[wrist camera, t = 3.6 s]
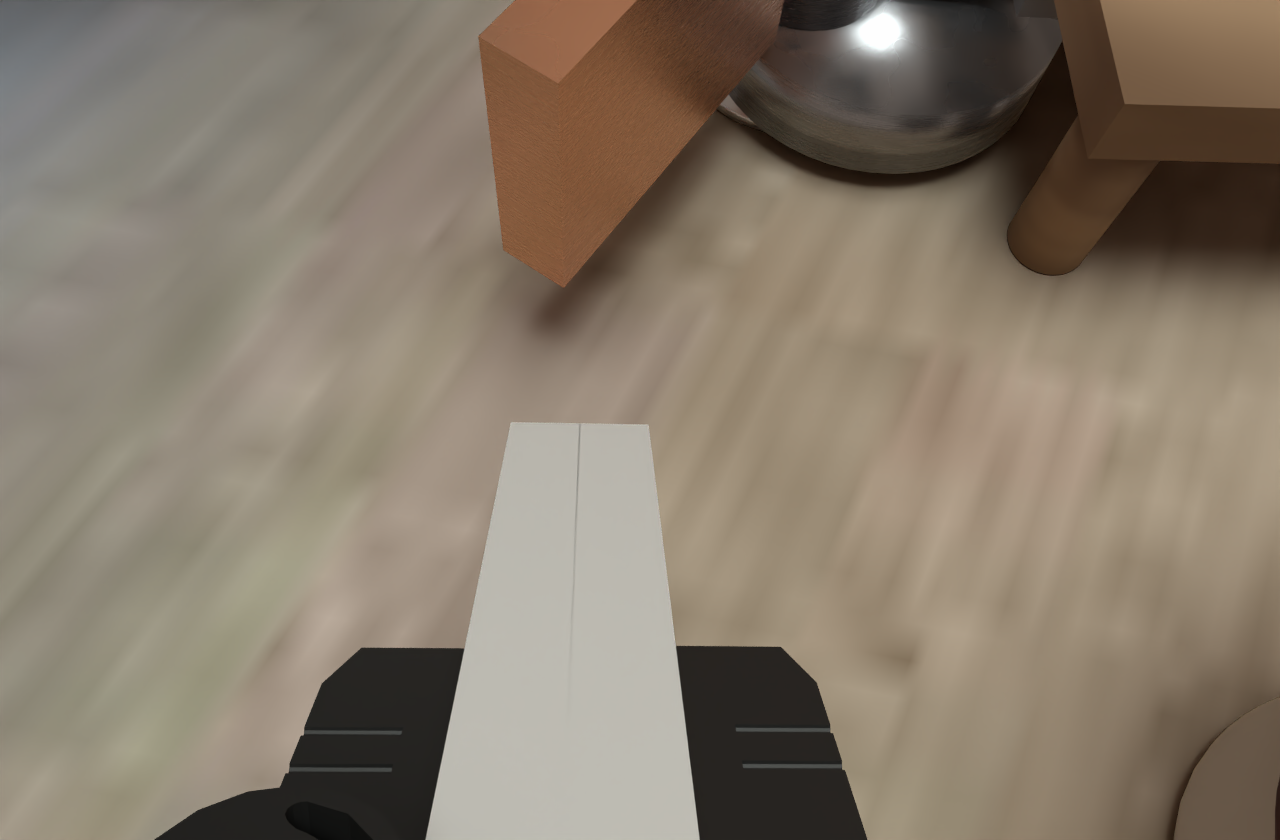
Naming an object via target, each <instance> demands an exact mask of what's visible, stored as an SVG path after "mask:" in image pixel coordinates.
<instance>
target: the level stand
mask: <svg viewBox="0 0 1280 840" xmlns="http://www.w3.org/2000/svg"><path fill="white" fill-rule="evenodd" d="M1013 2H1014V7H1015V12H1016V17H1032V18H1058V21H1059V26H1060V31H1061V35H1062V40H1063V45H1064V49H1065V54H1066V59H1067V63H1068V68H1069V73H1070V78H1071V82H1072V87H1073V92H1074V96H1075V101H1076V106H1077V110H1078V116H1077V117H1076V119H1075V121H1074V122H1073V124H1072V125H1071V127H1070V129H1069V130H1068V132H1067V133H1066V135H1065V137H1064V138H1063V140H1062V141H1061V143H1060V145H1059V146H1058V148H1057V149H1056V151H1055V153H1054V154H1053V156H1052V157H1051V159H1050V160H1049V162H1048V164H1047V165H1046V167H1045V168H1044V170H1043V172H1042V173H1041V175H1040V176H1039V178H1038V180H1037V181H1036V183H1035V184H1034V186H1033V188H1032V189H1031V191H1030V192H1029V194H1028V196H1027V197H1026V199H1025V200H1024V202H1023V204H1022V205H1021V207H1020V208H1019V210H1018V212H1017V213H1016V215H1015V216H1014V218H1013V220H1012V221H1011V223H1010V225H1009V227H1008V232H1007V238H1008V244H1009V246H1010V249H1011V251H1012V253H1013V254H1014V255H1015V257H1016V258H1017V259H1018V260H1019V261H1020V262H1021V263H1022V264H1023V265H1025V266H1026V267H1028V268H1030V269H1031V270H1034V271H1036V272H1039V273H1042V274H1047V275H1060V274H1065V273H1068V272H1070V271H1072V270H1074V269H1075V268H1077V267H1078V266H1079V265H1080V263H1081V262H1082V261H1083V260H1084V258H1085V257H1086V256H1087V254H1088V253H1089V252H1090V251H1091V249H1092V248H1093V247H1094V245H1095V244H1096V243H1097V242H1098V240H1099V239H1100V238H1101V236H1102V235H1103V234H1104V233H1105V231H1106V230H1107V229H1108V227H1109V226H1110V225H1111V223H1112V222H1113V221H1114V220H1115V218H1116V217H1117V216H1118V214H1119V213H1120V212H1121V211H1122V209H1123V208H1124V207H1125V205H1126V204H1127V203H1128V201H1129V200H1130V199H1131V198H1132V196H1133V195H1134V194H1135V192H1136V191H1137V190H1138V189H1139V187H1140V186H1141V185H1142V183H1143V182H1144V181H1145V179H1146V178H1147V177H1148V176H1149V174H1150V173H1151V172H1152V170H1153V169H1154V168H1155V167H1156V165H1157V164H1158V163H1159V161H1197V162H1235V163H1273V164H1280V0H1013Z"/></svg>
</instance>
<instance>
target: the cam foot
mask: <svg viewBox="0 0 1280 840" xmlns="http://www.w3.org/2000/svg"><path fill="white" fill-rule="evenodd" d="M478 37H479V45H480V54H481V62H482V71H483V79H484V88H485V96H486V105H487V114H488V122H489V131H490V139H491V148H492V156H493V165H494V173H495V182H496V190H497V199H498V208H499V216H500V225H501V233H502V242H503V250H504V251H506V252H508V253H509V254H511V255H512V256H514V257H515V258H517V259H519V260H520V261H522V262H523V263H525V264H527V265H528V266H530V267H531V268H533V269H534V270H536V271H538V272H539V273H541V274H542V275H544V276H545V277H547V278H549V279H550V280H552V281H553V282H555V283H557V284H558V285H560V286H561V287H563V288H564V287H565V286H566V285H567V284H568V282H569V281H570V280H571V279H572V278H573V277H574V275H575V274H576V273H577V272H578V271H579V270H580V268H581V267H582V266H583V265H584V264H585V262H586V261H587V260H588V259H589V258H590V257H591V255H592V254H593V253H594V252H595V251H596V250H597V248H598V247H599V246H600V245H601V244H602V243H603V241H604V240H605V239H606V238H607V237H608V236H609V234H610V233H611V232H612V231H613V230H614V228H615V227H616V226H617V225H618V224H619V223H620V221H621V220H622V219H623V218H624V217H625V216H626V214H627V213H628V212H629V211H630V210H631V209H632V207H633V206H634V205H635V204H636V203H637V201H638V200H639V199H640V198H641V197H642V196H643V194H644V193H645V192H646V191H647V190H648V189H649V187H650V186H651V185H652V184H653V183H654V182H655V180H656V179H657V178H658V177H659V176H660V175H661V173H662V172H663V171H664V170H665V169H666V167H667V166H668V165H669V164H670V163H671V162H672V160H673V159H674V158H675V157H676V156H677V155H678V153H679V152H680V151H681V150H682V149H683V148H684V146H685V145H686V144H687V143H688V142H689V140H690V139H691V138H692V137H693V136H694V135H695V133H696V132H697V131H698V130H699V129H700V128H701V126H702V125H703V124H704V123H705V122H706V121H707V119H708V118H709V117H710V116H711V115H712V114H713V112H714V111H715V110H716V109H717V108H718V106H719V105H720V104H721V103H722V102H723V101H724V99H725V98H726V97H727V96H728V95H729V96H730V97H731V98H732V100H733V101H734V103H735V104H736V105H737V106H738V107H739V108H740V109H741V110H742V111H743V113H744V114H745V115H746V116H747V117H748V118H749V119H750V120H751V121H753V122H754V123H755V124H756V125H757V126H759V127H760V128H761V129H762V130H763V131H765V132H766V133H767V134H769V135H770V136H772V137H773V138H775V139H776V140H778V141H780V142H781V143H783V144H784V145H786V146H788V147H790V148H792V149H794V150H796V151H798V152H800V153H802V154H804V155H806V156H808V157H811V158H814V159H816V160H819V161H822V162H824V163H827V164H831V165H835V166H839V167H842V168H846V169H850V170H857V171H864V172H870V173H887V174H901V173H916V172H923V171H928V170H934V169H939V168H943V167H946V166H949V165H952V164H956V163H959V162H961V161H963V160H966V159H968V158H970V157H972V156H974V155H976V154H978V153H980V152H982V151H983V150H985V149H986V148H988V147H989V146H991V145H992V144H994V143H995V142H996V141H997V140H999V139H1000V138H1001V137H1002V136H1003V135H1004V134H1005V133H1007V132H1008V131H1009V130H1010V128H1011V127H1012V126H1013V125H1014V123H1015V122H1016V121H1017V120H1018V119H1019V117H1020V116H1021V114H1022V112H1023V110H1024V109H1025V107H1026V105H1027V103H1028V102H1029V100H1030V98H1031V96H1032V94H1033V93H1034V91H1035V89H1036V87H1037V85H1038V84H1039V82H1040V80H1041V78H1042V76H1043V75H1044V73H1045V71H1046V69H1047V67H1048V65H1049V64H1050V62H1051V60H1052V58H1053V56H1054V55H1055V53H1056V51H1057V49H1058V47H1059V46H1060V44H1061V42H1062V35H1061V31H1060V26H1059V21H1058V18H1032V17H1016V12H1015V7H1014V2H1013V0H515V1H514V2H513V3H512V4H511V5H510V6H509V7H508V8H507V9H506V10H505V11H504V12H503V13H502V14H501V15H500V16H499V17H498V18H497V19H496V20H495V21H494V22H493V23H492V24H491V25H490V26H488V27H487V28H486V29H485V30H484V31H483V32H482V33H481V34H480V35H479V36H478Z"/></svg>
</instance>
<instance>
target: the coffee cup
mask: <svg viewBox="0 0 1280 840" xmlns="http://www.w3.org/2000/svg"><path fill="white" fill-rule="evenodd" d="M1174 840H1280V697H1278V698H1275V699H1273V700H1271V701H1269V702H1266V703H1264V704H1262V705H1260V706H1258V707H1256V708H1255V709H1253V710H1251V711H1250V712H1248V713H1246V714H1244V715H1243V716H1242V717H1240V718H1239V719H1238V720H1236V721H1235V722H1234V723H1233V724H1231V725H1230V726H1229V727H1228V728H1226V729H1225V730H1224V732H1223V733H1222V734H1221V735H1220V736H1219V737H1218V738H1217V739H1216V740H1215V741H1214V742H1213V743H1212V744H1211V745H1210V747H1209V748H1208V750H1207V751H1206V753H1205V754H1204V756H1203V757H1202V758H1201V760H1200V761H1199V763H1198V764H1197V766H1196V767H1195V768H1194V770H1193V773H1192V775H1191V778H1190V780H1189V782H1188V785H1187V787H1186V790H1185V792H1184V794H1183V797H1182V799H1181V802H1180V807H1179V812H1178V817H1177V822H1176V828H1175V834H1174Z"/></svg>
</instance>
